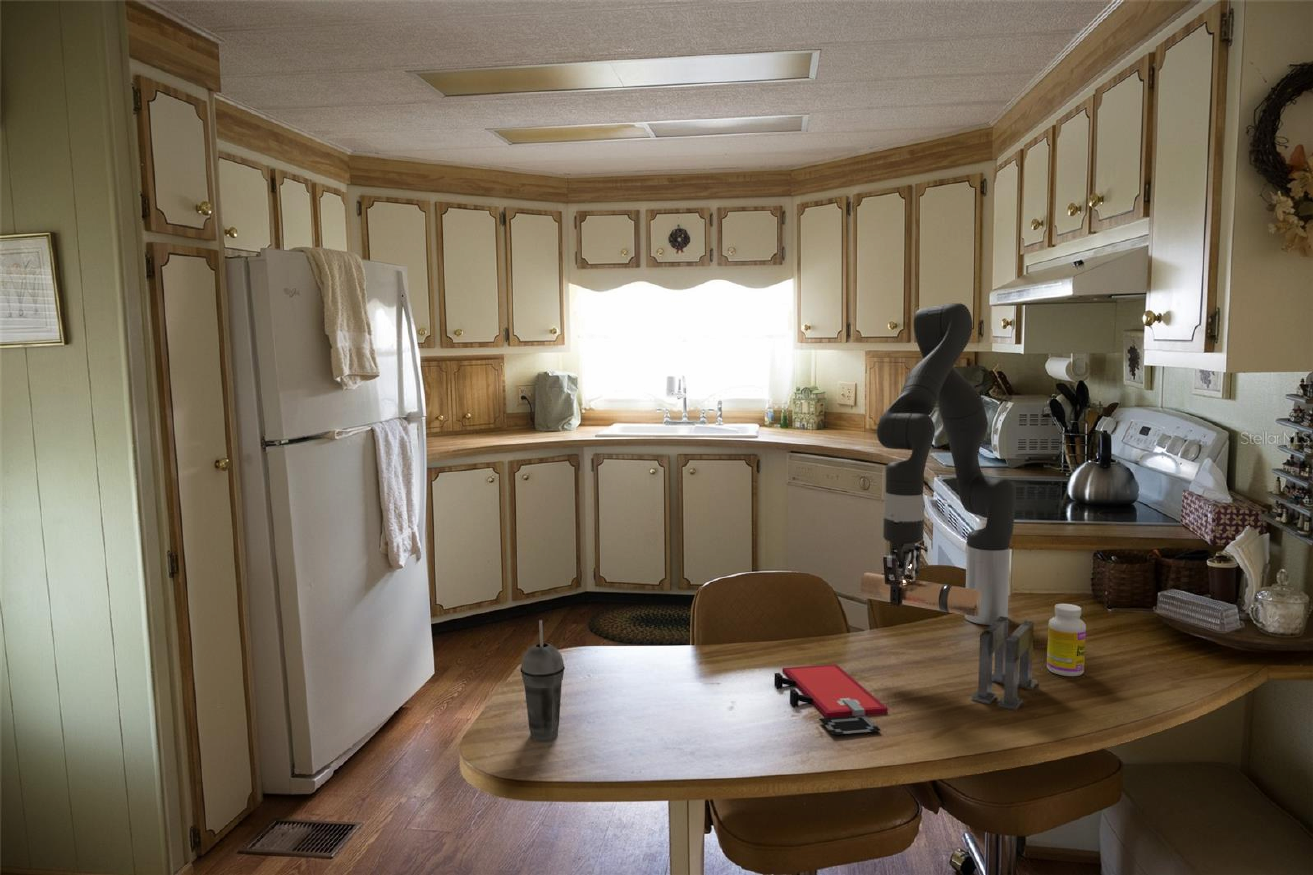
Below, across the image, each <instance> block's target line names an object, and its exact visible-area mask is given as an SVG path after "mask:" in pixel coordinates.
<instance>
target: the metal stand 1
mask: <svg viewBox="0 0 1313 875" xmlns="http://www.w3.org/2000/svg"><path fill="white" fill-rule="evenodd" d="M1008 637H1009V617H1008V616H1007V617H1002V616H1000V617H999V618H998V619H997V620H996V621H995V622H994V623H993V624H991V625H988V627H987V628H986V629H984V630H983V631H982V632H981V633H980V635H979V658H978V688H977V689H978V690H977V691H975V693H974V694H973V695H972V696H971V701H973V702H977V703H978V702H979V703H981V704H988V705H991V704H992V703H993V701H994V700H995V699H996V698H997V693H995V692H994V693H993V692H992V689H993V688H992V686H993V684H992V683H997V684H1002V685H1005V657H1006V639H1007V638H1008ZM993 653H994V654H993ZM993 655H994V656H993ZM993 658H994V666H993ZM993 667H994V670H993Z"/></svg>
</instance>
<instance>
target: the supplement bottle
mask: <svg viewBox="0 0 1313 875" xmlns="http://www.w3.org/2000/svg"><path fill="white" fill-rule="evenodd" d="M1054 613H1055V616H1052V617H1051V618H1050V619H1049V620H1048V625H1047V626H1048V627H1047V628H1048V631H1047V632H1048V634H1047V649H1046V650H1047V651H1046V653H1047V655H1046V667H1047V669H1048V671H1050V672H1051V673H1053V674H1056V675H1059V676H1064V677H1078V676H1081V675H1082V674H1084V672H1085V657H1086V640H1087V639H1086V638H1087V637H1086V636H1087V625H1086V624H1085V622H1084V621H1083V620H1082V619H1081V615H1082V608H1081V607H1080V606H1079V605H1076V604H1071V603H1058V604H1057V603H1056V604H1055V605H1054Z"/></svg>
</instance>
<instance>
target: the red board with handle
mask: <svg viewBox="0 0 1313 875" xmlns="http://www.w3.org/2000/svg"><path fill="white" fill-rule="evenodd" d="M782 673H783V674H784V675H785V677H784V676H783V675H782V674H781V672H776V673H775V672H774V680H773V681H774V683H773V685H774V687H775V688H776V689H777V690H782V689H783V685H788V686H791V687H796V688H797V690H796V688H795V689H794V688H792V689H790V688H789V704H790V705H791V706H792V707H793V708H798V707H799V702H801V703H807V704H812V705H813V706H814V707H815V708H816V709H817V710H818V711H819V712H820V713H821V714H822V715H823V718H822V717H821V718H818V720H819V721H820V723H822V724H823V725H824V727H825V728H826V729H827V730H828V731H829V732H830V733H831V734H832V735H845V734H856V733H868V732H869V733H870V732H881V731H882V730H881V729H880V728H879V727H878V726H877V724H875V723H874V722H873V721H872V720H871V719H869V717H868V716H873V715H880V714H882V715H884V714H888V711H889V710H888V707H887V706H886V705H884V704H883V703H882V702H881V701H879V699H877V698H876V697H875V696H874V695H873V694H872V693H871V692H869V691H868V690H867V689H866V688H865V687H864V686H862V685H861V684H860V683H859V682H857V680H855V678H853V677H852V676H851V675H849V673H847V671H845V670H844V669H843V668H841V667H840V666H839V665H838V664H835V663H834V664H821V665H820V664H819V665H807V666H805V665H804V666H792V667H790V666H789V667H782ZM798 690H799V691H800V693H802V694H800V693H799V692H798Z"/></svg>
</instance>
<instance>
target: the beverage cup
mask: <svg viewBox="0 0 1313 875" xmlns="http://www.w3.org/2000/svg"><path fill="white" fill-rule="evenodd" d="M538 625H539V627H538V628H539V643H537V644H534V645H533V646H531V647H529V648H528V649H527V651H526V652H525V653H524V654H523V657H522V660H521V664H520V665H521V666H520V673H521V678H522V683H523V684H524V694H525V702H526V710H527V711H526V712H527V719H528V728H529V734H530V738H531V740H533V741H535V742H541V743H543V742H549V741H553V740H555V739H557V738H558V735H559V727H560V717H561V716H560V713H561V697H562V682H563V679H564V672H565V669H566V668H565V663H564V659H563V655H562V653H561V652H560V651H559V649H558V648H557V647H555V646H554V645H552V644H550V643H545V642H544V633H543V632H544V631H543V627H544V626H543V620H542V619H540V620H539V621H538Z"/></svg>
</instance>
